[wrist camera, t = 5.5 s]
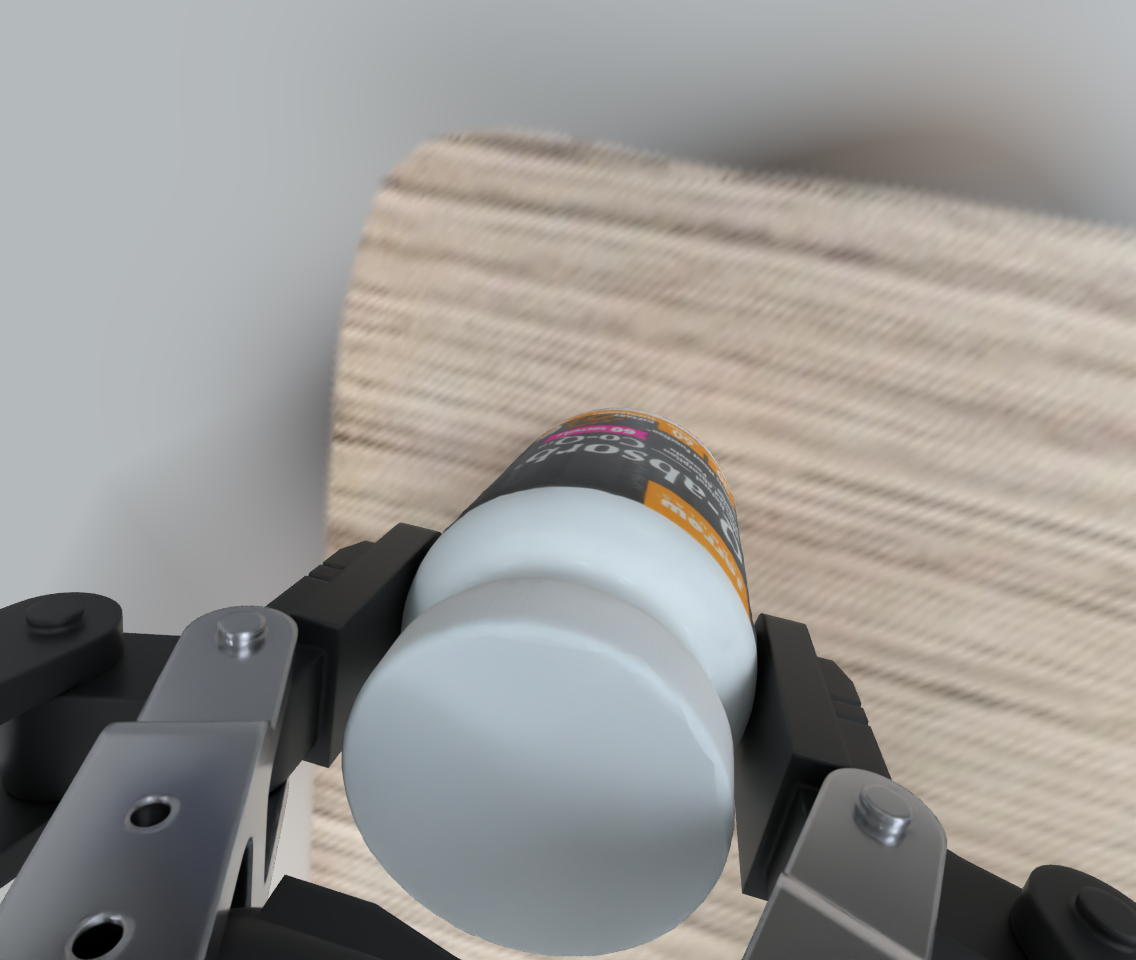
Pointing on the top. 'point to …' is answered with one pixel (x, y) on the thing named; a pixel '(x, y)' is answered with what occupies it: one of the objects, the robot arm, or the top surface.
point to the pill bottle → (566, 696)
